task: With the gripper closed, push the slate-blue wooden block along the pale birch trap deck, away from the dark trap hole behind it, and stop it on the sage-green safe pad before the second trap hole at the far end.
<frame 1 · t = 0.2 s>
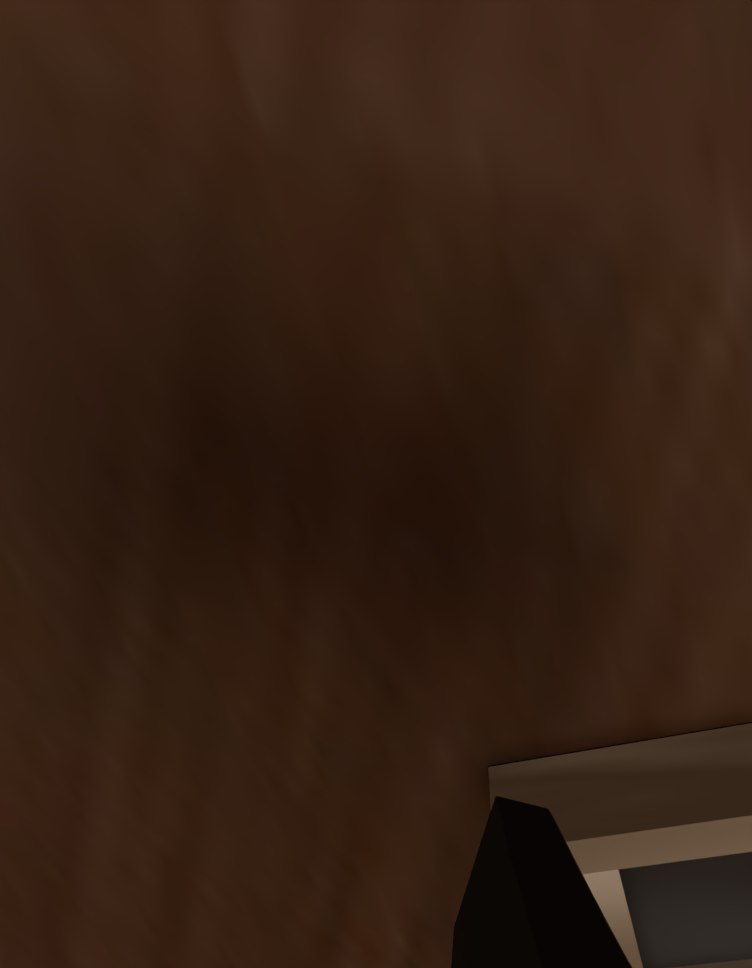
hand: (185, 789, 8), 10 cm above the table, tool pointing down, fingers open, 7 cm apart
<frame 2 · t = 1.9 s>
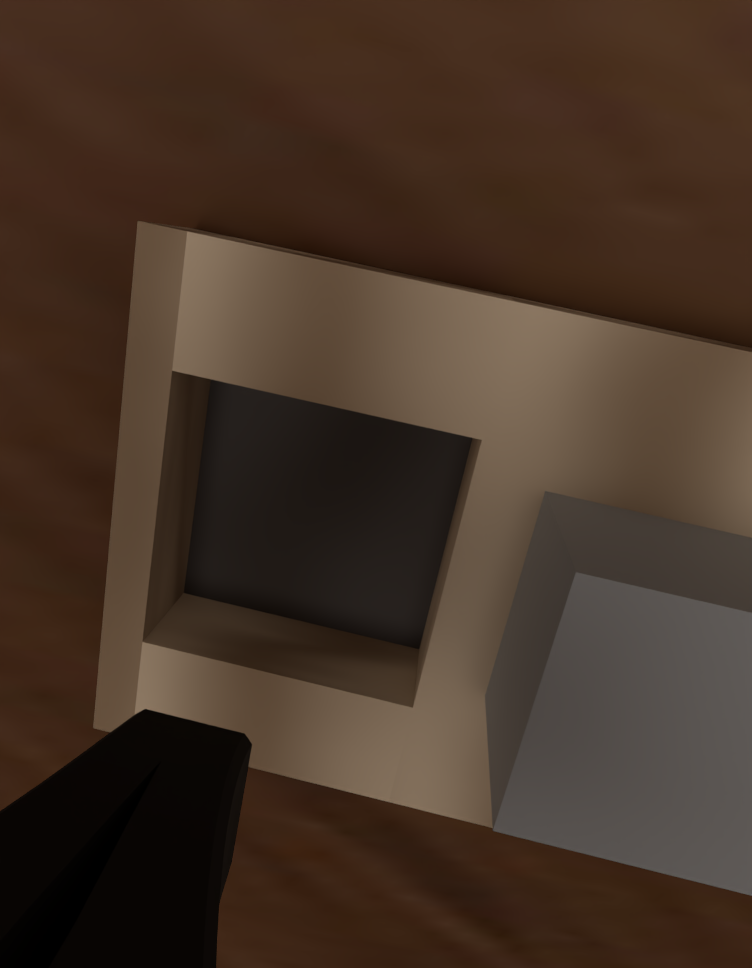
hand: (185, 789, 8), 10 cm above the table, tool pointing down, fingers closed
block: (628, 625, 15), point 3 cm above the table, touching trap deck
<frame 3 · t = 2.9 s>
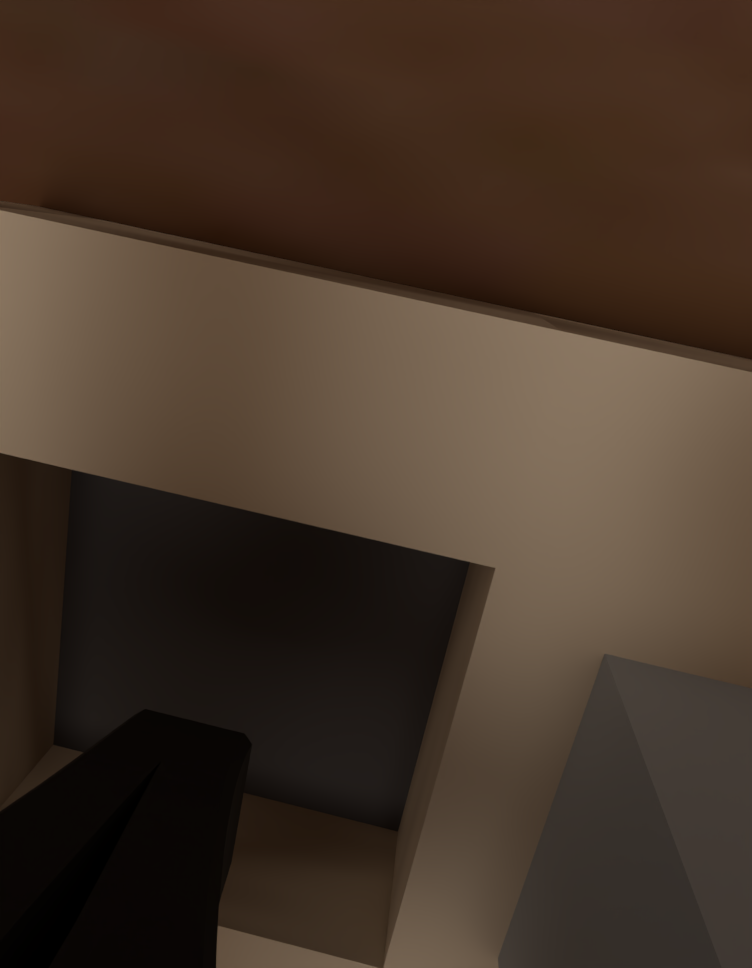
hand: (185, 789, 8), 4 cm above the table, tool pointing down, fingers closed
block: (739, 866, 9), point 3 cm above the table, touching trap deck
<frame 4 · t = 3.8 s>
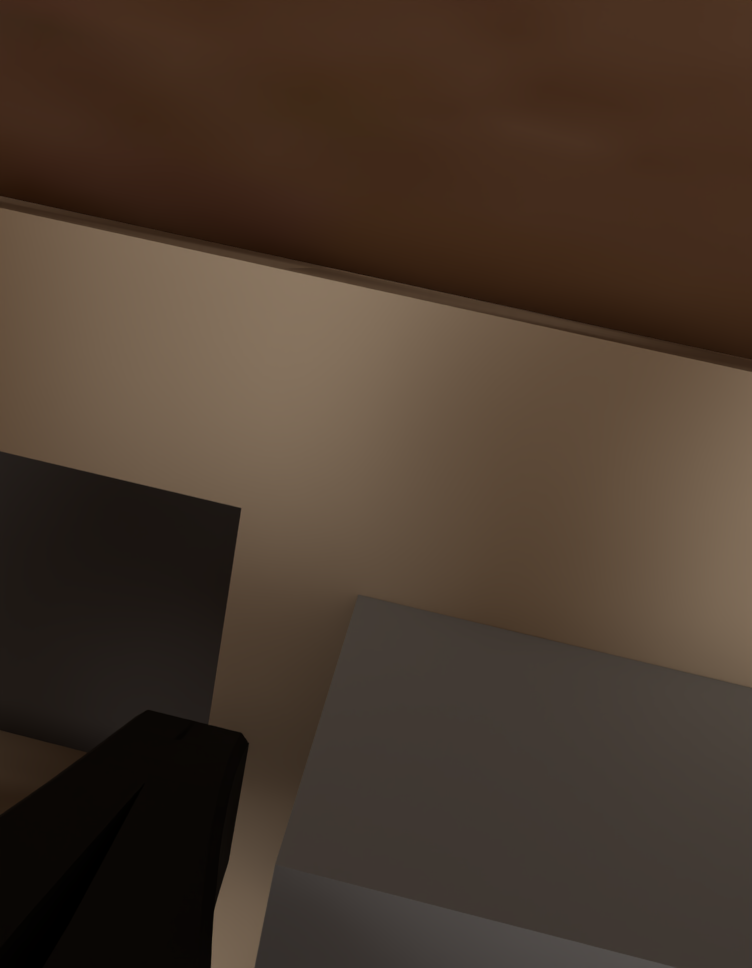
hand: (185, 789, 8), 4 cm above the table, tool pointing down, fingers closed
block: (509, 809, 9), point 3 cm above the table, touching gripper
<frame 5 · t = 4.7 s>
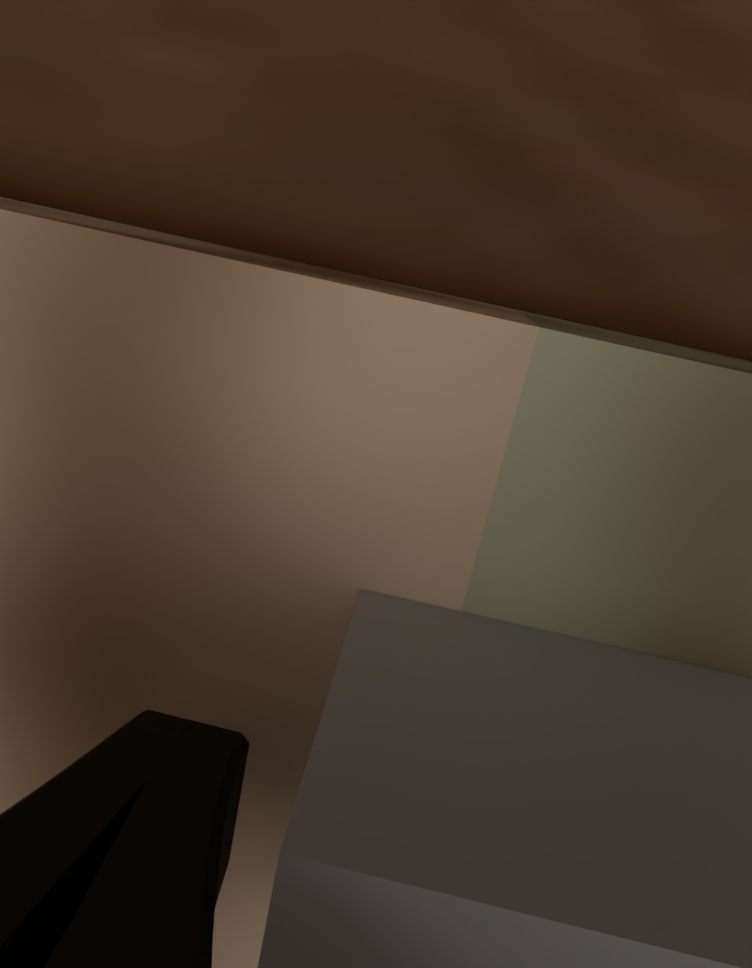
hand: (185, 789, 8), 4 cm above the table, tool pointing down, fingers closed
block: (514, 803, 9), point 3 cm above the table, touching gripper
trap deck: (452, 669, 12), on the table
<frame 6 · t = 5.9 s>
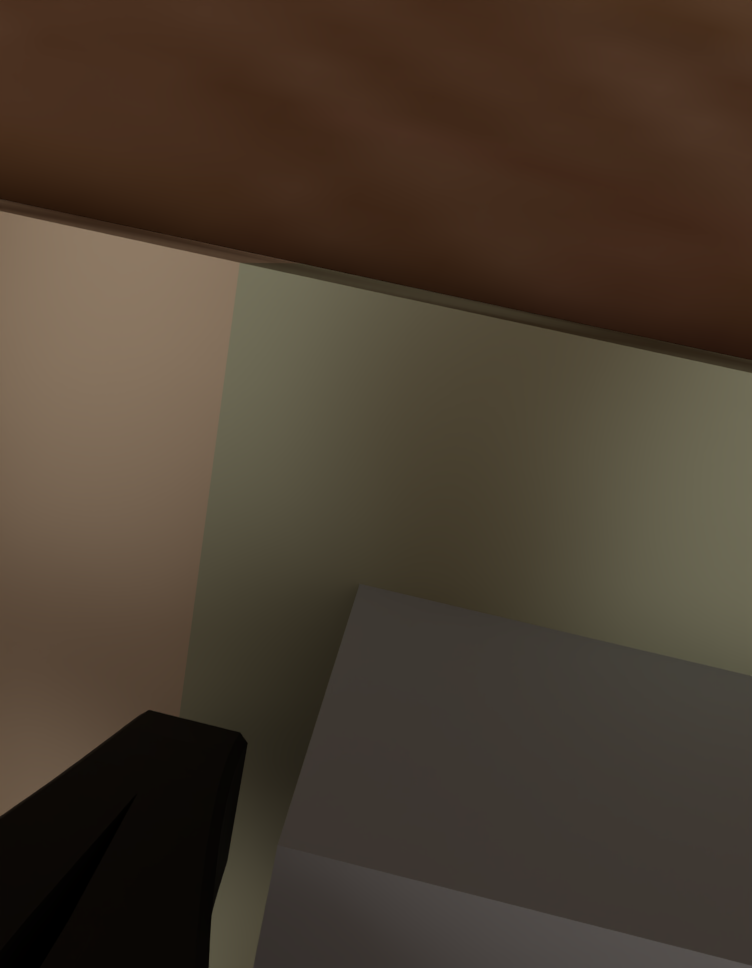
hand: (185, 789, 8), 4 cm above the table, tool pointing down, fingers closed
block: (511, 799, 9), point 3 cm above the table, touching gripper, trap deck
trap deck: (271, 626, 12), on the table
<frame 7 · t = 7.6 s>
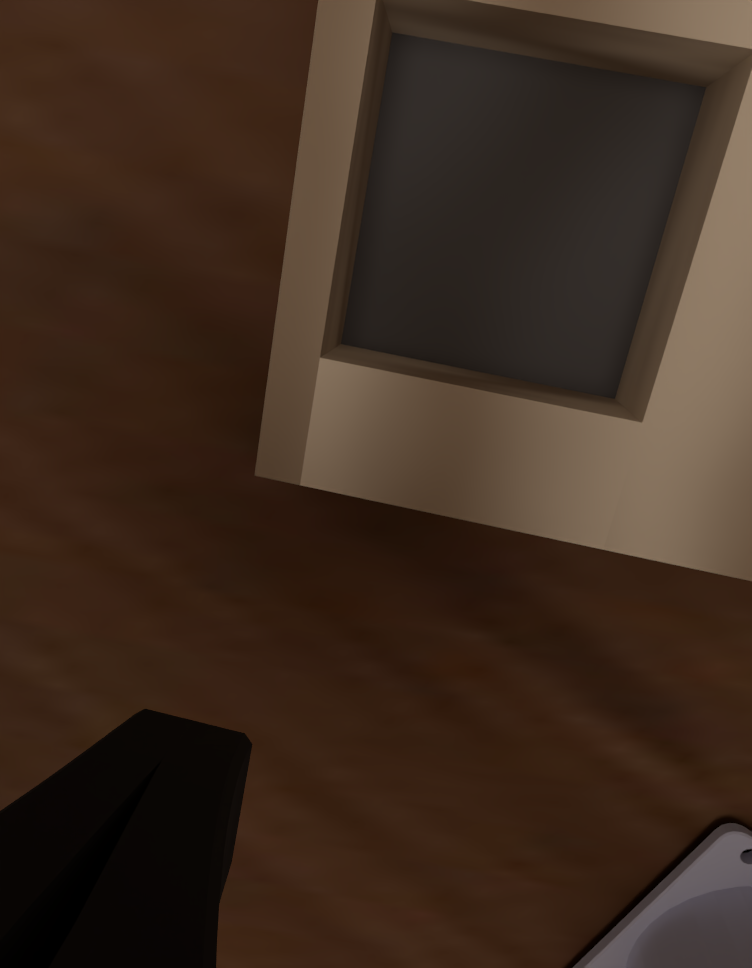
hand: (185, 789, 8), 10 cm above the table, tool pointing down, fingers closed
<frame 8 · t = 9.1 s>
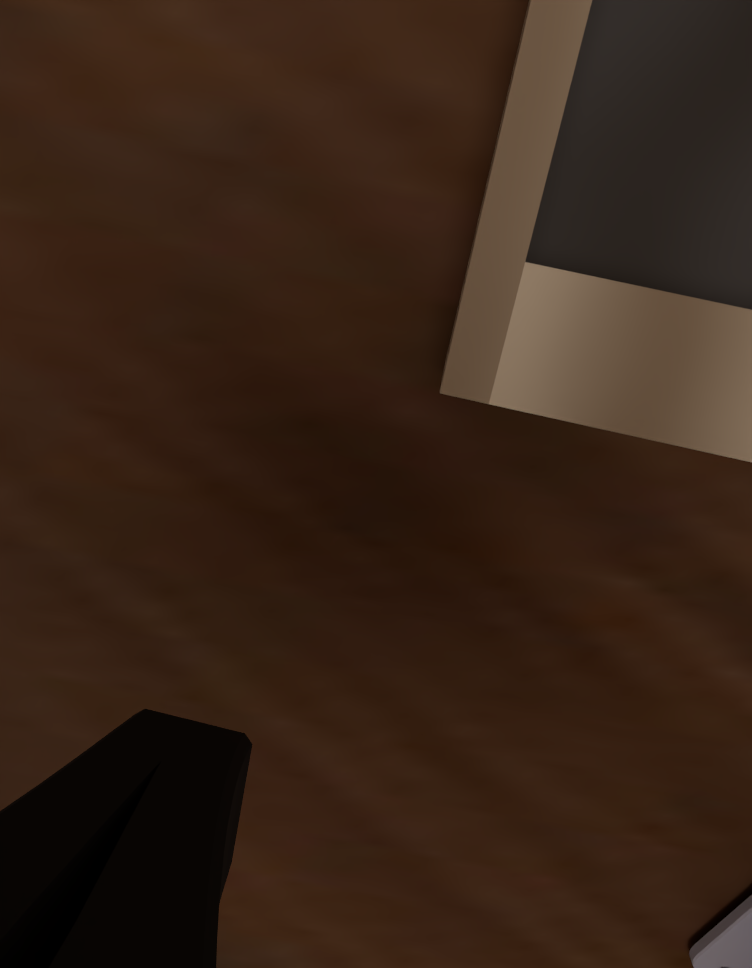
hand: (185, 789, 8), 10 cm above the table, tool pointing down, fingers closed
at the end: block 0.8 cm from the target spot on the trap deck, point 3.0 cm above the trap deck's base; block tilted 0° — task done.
